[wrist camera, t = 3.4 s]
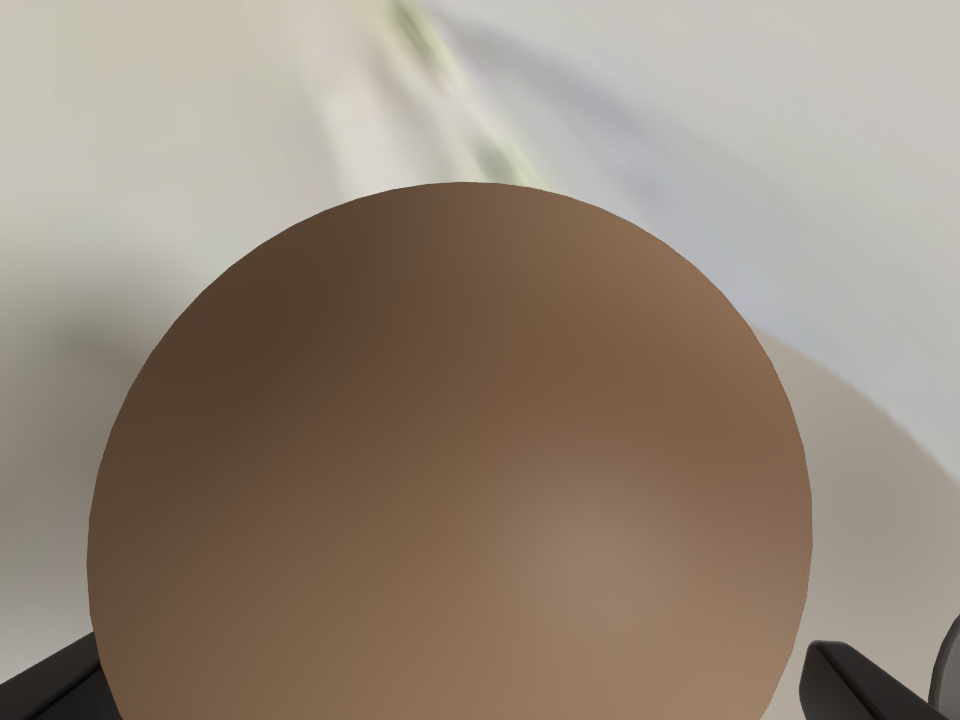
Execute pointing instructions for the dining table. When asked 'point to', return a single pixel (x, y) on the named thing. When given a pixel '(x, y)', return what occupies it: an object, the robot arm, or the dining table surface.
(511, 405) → the brown tapered domed piece
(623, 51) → the dining table surface
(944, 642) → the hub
